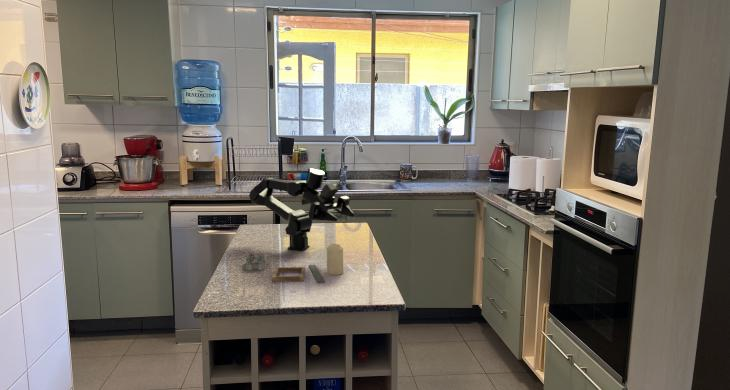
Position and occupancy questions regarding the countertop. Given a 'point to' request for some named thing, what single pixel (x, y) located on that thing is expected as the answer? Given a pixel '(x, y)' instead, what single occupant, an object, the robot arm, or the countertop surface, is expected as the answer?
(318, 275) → the strip
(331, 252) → the candle
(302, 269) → the keeper frame
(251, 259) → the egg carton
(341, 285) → the countertop surface
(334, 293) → the countertop surface
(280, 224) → the countertop surface
